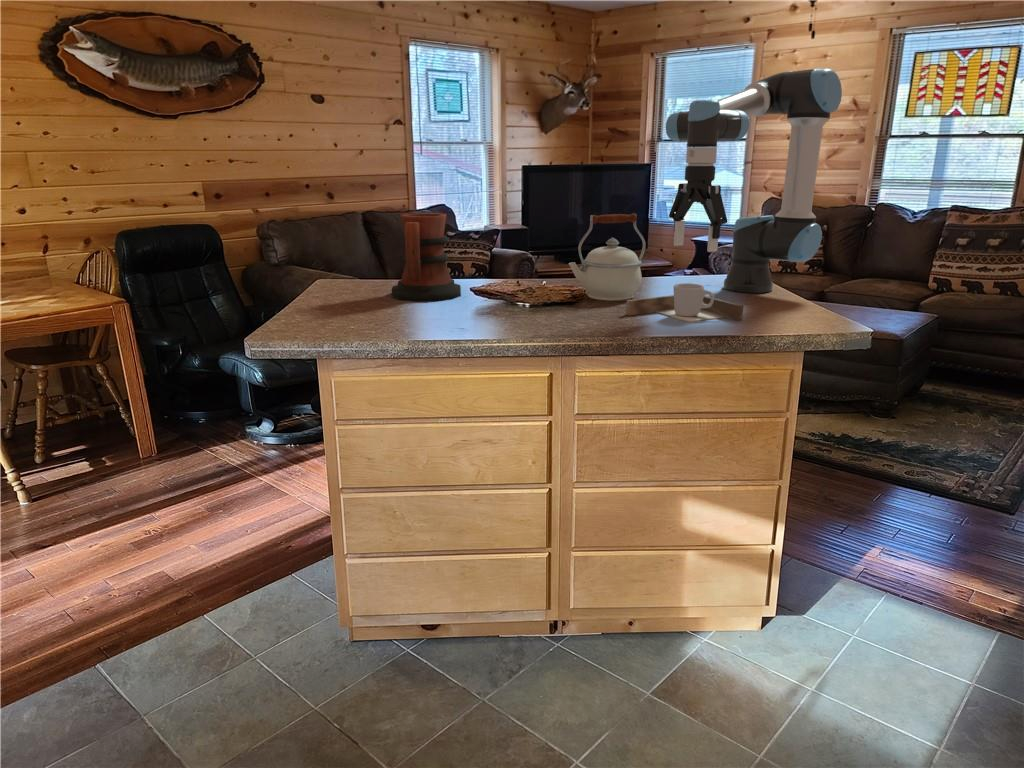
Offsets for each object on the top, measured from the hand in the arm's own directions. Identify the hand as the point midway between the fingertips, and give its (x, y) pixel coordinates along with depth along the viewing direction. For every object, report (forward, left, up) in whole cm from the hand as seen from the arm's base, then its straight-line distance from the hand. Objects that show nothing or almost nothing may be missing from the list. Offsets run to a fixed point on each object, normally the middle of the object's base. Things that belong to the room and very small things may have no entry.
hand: (694, 248), depth 194 cm
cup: (0, +1, -18) cm, 18 cm away
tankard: (+55, -60, -18) cm, 83 cm away
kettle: (+6, -33, -18) cm, 38 cm away
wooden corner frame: (+4, +1, -18) cm, 19 cm away
